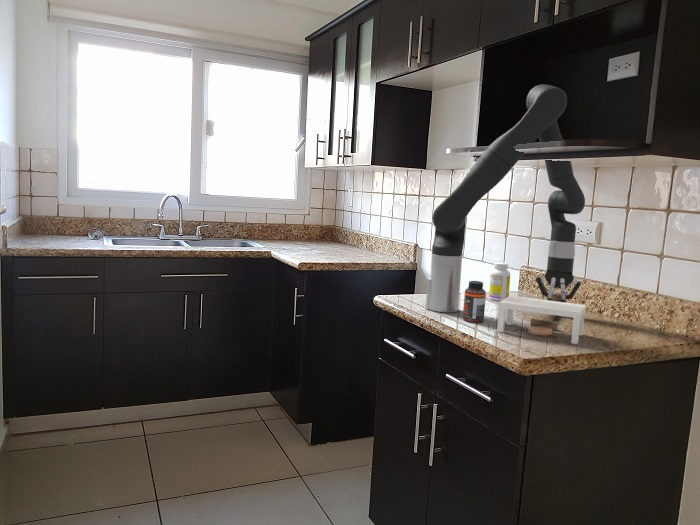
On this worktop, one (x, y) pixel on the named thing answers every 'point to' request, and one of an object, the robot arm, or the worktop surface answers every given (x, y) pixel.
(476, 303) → the supplement bottle
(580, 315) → the white shelf
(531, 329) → the terracotta coaster
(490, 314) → the worktop surface
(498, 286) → the supplement bottle
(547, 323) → the walnut push stick
